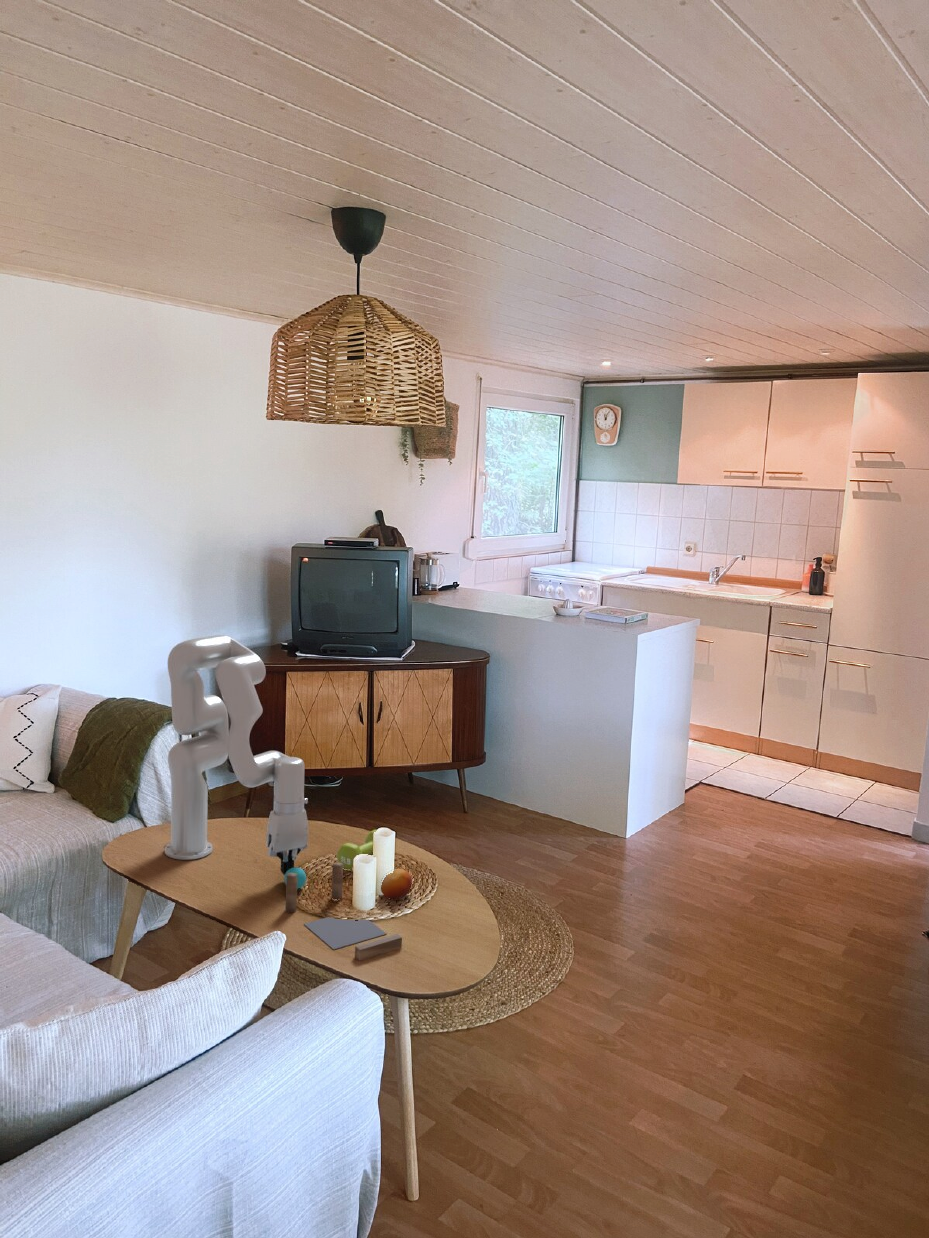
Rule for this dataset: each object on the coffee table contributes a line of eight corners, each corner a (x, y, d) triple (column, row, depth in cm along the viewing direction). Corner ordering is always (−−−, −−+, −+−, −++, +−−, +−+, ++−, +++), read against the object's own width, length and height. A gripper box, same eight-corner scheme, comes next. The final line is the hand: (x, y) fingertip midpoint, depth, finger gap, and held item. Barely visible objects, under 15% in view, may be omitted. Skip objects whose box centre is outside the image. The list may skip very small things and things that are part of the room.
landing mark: (303, 924, 217) (303, 923, 217) (355, 910, 225) (355, 909, 225) (333, 949, 206) (333, 948, 206) (386, 934, 214) (386, 933, 214)
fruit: (414, 900, 230) (399, 871, 229) (387, 912, 231) (372, 883, 231) (422, 887, 237) (408, 859, 237) (396, 898, 239) (382, 871, 239)
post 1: (283, 909, 224) (284, 874, 222) (293, 907, 225) (294, 871, 224) (288, 913, 222) (289, 878, 220) (298, 911, 223) (299, 875, 222)
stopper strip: (354, 956, 203) (355, 945, 203) (396, 943, 210) (397, 933, 210) (359, 960, 202) (359, 949, 202) (401, 947, 209) (402, 937, 208)
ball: (284, 865, 233) (292, 883, 230) (303, 860, 237) (312, 878, 234) (278, 878, 236) (286, 896, 233) (297, 873, 240) (305, 891, 237)
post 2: (329, 897, 231) (330, 863, 230) (338, 895, 233) (339, 861, 232) (334, 901, 229) (336, 867, 228) (343, 899, 231) (345, 865, 230)
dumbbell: (356, 876, 245) (357, 850, 244) (333, 868, 250) (334, 842, 249) (393, 857, 259) (394, 832, 258) (370, 850, 263) (371, 825, 262)
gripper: (307, 796, 244) (305, 863, 247) (255, 806, 235) (254, 875, 237) (321, 805, 238) (319, 872, 241) (268, 815, 229) (267, 885, 232)
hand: (287, 873), depth 239 cm, fingers closed
